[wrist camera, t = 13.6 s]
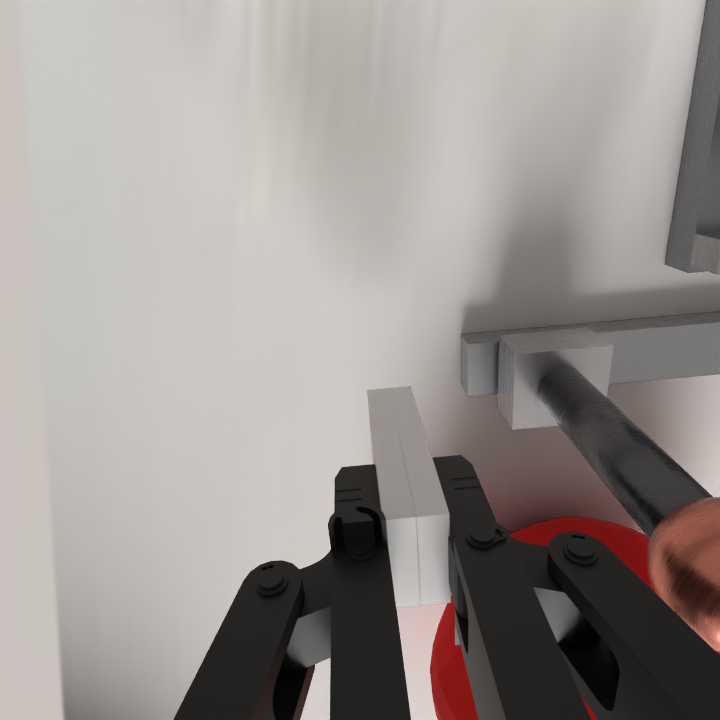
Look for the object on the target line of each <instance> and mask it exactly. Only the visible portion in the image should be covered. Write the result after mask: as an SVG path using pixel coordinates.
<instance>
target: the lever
mask: <svg viewBox="0 0 720 720" xmlns="http://www.w3.org/2000/svg"><path fill="white" fill-rule="evenodd" d="M613 346H614V345H612V344H611V343H609V342H608V341H607V340H605V339H604V338H602V337H601V336H600V335H598V334H597V333H596V332H594V331H593V330H591V329H590V328H589V327H588V328H577V329H566V330H554V331H543V332H532V333H520V334H509V335H499V367H498V398H497V406H498V408H499V409H500V411H501V413H502V414H503V416H504V417H505V419H506V421H507V422H508V424H509V426H510V427H511V429H512V430H517V429H528V428H539V427H551V426H560V427H561V429H562V430H563V431H564V432H565V434H566V435H567V436H568V437H569V439H570V440H571V441H572V443H573V444H574V445H575V446H576V448H577V449H578V450H579V451H580V453H581V454H582V455H583V456H584V458H585V459H586V460H587V461H588V463H589V464H590V465H591V466H592V468H593V469H594V470H595V472H596V473H597V474H598V475H599V477H600V478H601V479H602V480H603V482H604V483H605V484H606V485H607V487H608V488H609V489H610V490H611V492H612V493H613V494H614V495H615V497H616V498H617V499H618V500H619V502H620V503H621V504H622V506H623V507H624V508H625V509H626V511H627V512H628V513H629V514H630V516H631V517H632V518H633V519H634V521H635V522H636V523H637V524H638V526H639V527H640V528H641V529H642V531H643V532H644V533H645V534H646V536H647V537H648V538H649V540H650V541H649V544H648V549H647V558H646V560H647V572H648V576H649V580H650V584H651V587H652V589H653V591H654V592H655V593H656V594H657V595H658V596H659V597H660V598H661V599H662V600H663V601H664V602H665V603H666V604H667V605H668V606H669V607H670V608H671V609H672V610H673V611H674V612H676V613H677V614H678V615H679V616H680V617H681V618H682V619H683V620H684V621H685V622H686V623H687V624H688V625H689V626H690V627H691V628H692V629H693V630H694V631H695V632H696V633H697V634H698V635H699V636H700V637H701V638H702V639H703V640H705V641H706V642H707V643H708V644H709V645H710V646H711V647H712V648H713V649H714V650H715V651H717V652H720V497H713V496H712V495H710V494H709V493H708V492H707V491H706V490H705V489H704V488H703V487H702V486H701V485H700V484H699V483H698V482H697V481H695V480H694V479H693V478H692V477H691V476H690V475H689V474H688V473H687V472H686V471H685V470H684V469H683V468H682V467H680V466H679V465H678V464H677V463H676V462H675V461H674V460H673V459H672V458H671V457H670V456H669V455H668V454H667V453H665V452H664V451H663V450H662V449H661V448H660V447H659V446H658V445H657V444H656V443H655V442H654V441H653V440H652V439H650V438H649V437H648V436H647V435H646V434H645V433H644V432H643V431H642V430H641V429H640V428H639V427H638V426H637V425H635V424H634V423H633V422H632V421H631V420H630V419H629V418H628V417H627V416H626V415H625V414H624V413H623V412H622V411H620V410H619V409H618V408H617V407H616V406H615V405H614V404H613V403H612V402H611V401H610V400H609V399H608V398H607V394H608V386H609V378H610V370H611V362H612V354H613Z"/></svg>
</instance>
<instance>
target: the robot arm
mask: <svg viewBox="0 0 720 720" xmlns="http://www.w3.org/2000/svg"><path fill="white" fill-rule="evenodd" d="M367 394H368V406H369V418H370V430H371V442H372V454H373V464H372V465H361V466H350V467H342V468H341V469H340V471H339V473H338V474H337V476H336V477H335V513H334V514H333V515H332V516H331V517H330V520H329V523H328V529H329V537H330V544H331V550H330V552H329V553H328V554H327V555H326V556H325V557H324V558H323V559H321V560H320V561H319V562H317V563H314V564H312V565H310V566H307V567H305V568H302V569H298V568H297V567H296V566H295V565H293V564H292V563H289V562H286V561H270V562H267V563H264V564H261V565H259V566H258V567H256V568H255V569H254V570H252V571H251V572H250V573H249V574H248V576H247V577H246V578H245V580H244V581H243V583H242V585H241V587H240V589H239V591H238V593H237V595H236V597H235V599H234V601H233V603H232V605H231V607H230V609H229V611H228V613H227V615H226V617H225V619H224V621H223V623H222V625H221V627H220V629H219V631H218V633H217V634H216V636H215V638H214V640H213V642H212V644H211V646H210V648H209V650H208V652H207V654H206V656H205V658H204V660H203V662H202V664H201V666H200V668H199V670H198V672H197V674H196V676H195V678H194V680H193V682H192V684H191V686H190V688H189V690H188V692H187V694H186V696H185V698H184V700H183V702H182V704H181V706H180V708H179V710H178V712H177V714H176V716H175V718H174V720H300V718H301V715H302V711H303V708H304V704H305V701H306V697H307V694H308V690H309V687H310V683H311V680H312V677H313V673H314V670H315V664H316V663H319V662H321V661H323V660H326V659H328V658H330V657H331V680H330V720H411V716H410V709H409V701H408V694H407V686H406V678H405V671H404V663H403V656H402V648H401V640H400V633H399V625H398V618H397V610H396V608H400V607H411V606H422V605H432V604H443V603H451V593H452V597H453V601H454V605H455V645H461V649H462V653H463V658H464V662H465V666H466V670H467V674H468V678H469V682H470V686H471V690H472V694H473V699H474V703H475V707H476V711H477V715H478V719H479V720H591V717H590V715H589V713H588V711H587V708H586V706H585V704H584V702H583V699H584V700H585V702H586V703H587V705H588V706H589V708H590V709H591V710H592V712H593V713H594V715H595V716H596V718H597V719H598V720H720V655H719V654H718V653H717V652H716V651H715V650H714V649H713V648H712V647H711V646H710V645H709V644H708V643H707V642H706V641H705V640H703V639H702V638H701V637H700V636H699V635H698V634H697V633H696V632H695V631H694V630H693V629H692V628H691V627H690V626H689V625H688V624H687V623H686V622H685V621H684V620H683V619H682V618H681V617H680V616H679V615H678V614H677V613H676V612H674V611H673V610H672V609H671V608H670V607H669V606H668V605H667V604H666V603H665V602H664V601H663V600H662V599H661V598H660V597H659V596H658V595H657V594H656V593H655V592H654V591H653V590H652V589H651V588H650V587H649V586H648V585H647V584H646V583H644V582H643V581H642V580H641V579H640V578H639V577H638V576H637V575H636V574H635V573H634V572H633V571H632V570H631V569H630V568H629V567H628V566H627V565H626V564H625V563H624V562H623V561H622V560H621V559H620V558H619V557H618V556H617V555H615V554H614V553H613V552H612V551H611V550H610V549H609V548H608V547H607V546H606V545H605V544H604V543H602V542H601V541H599V540H598V539H597V538H595V537H592V536H590V535H587V534H585V533H578V532H565V533H560V534H558V535H556V536H554V537H553V538H552V540H551V541H550V543H549V545H548V546H543V545H537V544H530V543H526V542H522V541H519V540H517V539H514V538H512V537H511V536H510V534H509V533H508V532H507V530H506V529H505V528H504V527H502V526H501V525H499V524H497V522H496V520H495V517H494V515H493V513H492V510H491V508H490V506H489V503H488V501H487V498H486V496H485V494H484V491H483V489H482V488H481V484H480V482H479V480H478V479H477V475H476V472H475V470H474V468H473V465H472V464H471V463H470V462H468V461H467V460H466V459H465V458H464V457H462V456H461V455H457V456H446V457H435V458H432V455H431V452H430V448H429V445H428V442H427V439H426V435H425V432H424V429H423V425H422V422H421V419H420V416H419V412H418V409H417V406H416V403H415V399H414V396H413V393H412V389H411V386H409V387H398V388H387V389H376V390H367ZM581 696H582V697H581ZM582 698H583V699H582Z"/></svg>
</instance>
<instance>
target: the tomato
mask: <svg viewBox="0 0 720 720" xmlns="http://www.w3.org/2000/svg"><path fill="white" fill-rule="evenodd" d="M565 532H578V533H585V534H587V535H590V536H592V537H595V538H597V539H598V540H599V541H601V542H602V543H604V544H605V545H606V546H607V547H608V548H609V549H610V550H611V551H612V552H613V553H614V554H615V555H617V556H618V557H619V558H620V559H621V560H622V561H623V562H624V563H625V564H626V565H627V566H628V567H629V568H630V569H631V570H632V571H633V572H634V573H635V574H636V575H637V576H638V577H639V578H640V579H641V580H642V581H643V582H644V583H646V584H647V585H648V586H649V587H650V588H651V589H652V587H651V584H650V580H649V576H648V572H647V560H646V558H647V549H648V544H649V541H650V540H649V538H648V537H647V536H646V535H645V534H642V533H640V532H637V531H635V530H633V529H630V528H627V527H624V526H621V525H619V524H616V523H613V522H607V521H601V520H595V519H589V518H580V517H572V518H557V519H553V520H548V521H544V522H539V523H536V524H534V525H531V526H528V527H525V528H522V529H520V530H518V531H516V532H514V533H512V534H510V536H511V537H512V538H514V539H517V540H519V541H522V542H526V543H530V544H537V545H543V546H548V545H549V543H550V541H551V540H552V538H553V537H554V536H556V535H558V534H560V533H565ZM652 590H653V589H652ZM716 652H717V651H716ZM717 653H718V654H719V655H720V652H717ZM430 674H431V684H432V694H433V701H434V706H435V711H436V716H437V718H438V720H479V719H478V715H477V711H476V707H475V703H474V699H473V694H472V690H471V686H470V682H469V678H468V674H467V670H466V666H465V662H464V658H463V653H462V649H461V645H455V605H454V601H453V597H452V595H451V603H447V605H446V608H445V610H444V613H443V615H442V618H441V620H440V623H439V626H438V629H437V633H436V636H435V640H434V643H433V649H432V657H431V665H430ZM581 697H582V696H581ZM582 699H583V698H582ZM583 702H584V704H585V706H586V708H587V711H588V713H589V715H590V717H591V720H598V719H597V718H596V716H595V715H594V713H593V712H592V710H591V709H590V708H589V706H588V705H587V703H586V702H585V700H584V699H583Z"/></svg>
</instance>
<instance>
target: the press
mask: <svg viewBox="0 0 720 720" xmlns="http://www.w3.org/2000/svg"><path fill="white" fill-rule="evenodd" d="M665 265H668V266H670V267H673V268H676V269H679V270H681V271H684V272H687V273H693V272H704V271H708V272H711V273H714V274H720V0H707V3H706V9H705V16H704V22H703V28H702V34H701V41H700V47H699V53H698V60H697V66H696V72H695V79H694V85H693V91H692V98H691V104H690V110H689V117H688V123H687V129H686V136H685V142H684V148H683V155H682V161H681V167H680V174H679V180H678V186H677V192H676V199H675V205H674V211H673V218H672V224H671V230H670V237H669V243H668V249H667V256H666V262H665ZM588 327H589V328H590V329H591V330H593V331H594V332H596V333H597V334H598V335H600V336H601V337H602V338H604V339H605V340H607V341H608V342H609V343H611V344H612V345H614V346H613V354H612V362H611V370H610V378H609V384H615V383H626V382H637V381H649V380H660V379H671V378H682V377H693V376H705V375H716V374H720V312H711V313H699V314H688V315H677V316H665V317H654V318H643V319H631V320H620V321H609V322H597V323H586V324H575V325H563V326H552V327H541V328H529V329H518V330H507V331H495V332H484V333H473V334H461V385H462V387H463V389H464V391H465V393H466V395H467V396H468V397H469V396H481V395H492V394H498V367H499V335H509V334H520V333H532V332H543V331H554V330H566V329H577V328H588Z"/></svg>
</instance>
